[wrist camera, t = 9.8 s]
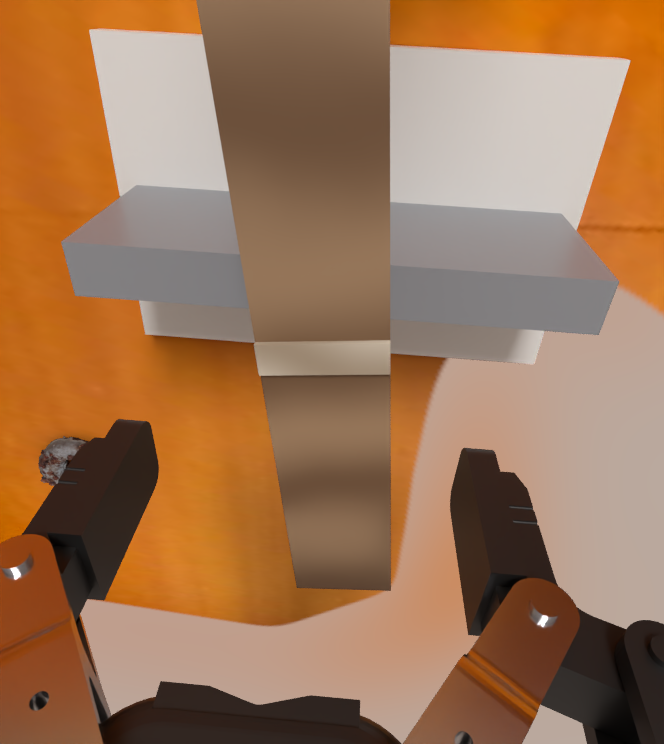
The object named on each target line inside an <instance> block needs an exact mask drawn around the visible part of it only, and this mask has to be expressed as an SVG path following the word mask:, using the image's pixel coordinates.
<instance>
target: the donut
mask: <svg viewBox="0 0 664 744" xmlns="http://www.w3.org/2000/svg"><path fill="white" fill-rule="evenodd" d="M87 443H88V441H85V440H81V439H79V438H75V437H69V438H66V437H63V438H60V439H56V440H54V441H52V442H51V443H50V444H49V445H48V446H47V447H46V449H45V450H42V452H41V456H40V457H39V469H40V473H41V474H42V475H43V477H42V480H41V481H42V482H43V483H46V482H47V483H49V485H54V486H55V484H58V480H59V478H60V477H61V475H62V474H63V472H64V471H65V470H67V466H68V465H69V463H68V460H72V459H73V457H74V456H75V454H76V453H77V451H78V450H79V449H81V448H82V447H83V446H85V445H86V444H87Z"/></svg>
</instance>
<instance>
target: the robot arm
mask: <svg viewBox="0 0 664 744" xmlns="http://www.w3.org/2000/svg"><path fill="white" fill-rule="evenodd" d="M158 471H159V466H158V459H157V454H156V449H155V444H154V439H153V434H152V429H151V425H150V423H149V422H147V421H135V420H123V419H118V420H116V421H115V423H114V424H113V426H112V427H111V429H110V431H109V432H108V434H107V435H106V437H105V438H94V439H92V440H91V441H90V442H88V443H87V444H86V445H85V446H83V447H82V448H81V449H79V450H78V451H77V453H76V454H75V456H74V457H73V459H72V460H71V462H70V463H69V465H68V466H67V470H65V471H64V472H63V474H62V475H61V477H60V478H59V480H58V484H55V486H54V487H53V489H52V490H51V492H50V493H49V495H48V496H47V498H46V499H45V501H44V503H43V504H42V506H41V507H40V509H39V510H38V512H37V513H36V515H35V516H34V518H33V519H32V521H31V522H30V524H29V525H28V527H27V528H26V530H25V531H24V533H23V534H22V535H20V536H16V537H13V538H10V539H8V540H6V541H4V542H2V543H1V544H0V744H401V743H400V742H399V741H398V740H397V739H396V738H395V737H394V736H393V735H392V734H391V733H390V732H388V731H387V730H386V729H384V728H383V727H382V726H380V725H379V724H377V723H375V722H373V721H372V720H370V719H368V718H365V717H363V716H360V700H353V699H342V698H332V697H320V696H306V697H300V698H296V699H290V700H284V701H279V702H274V703H269V704H263V705H255V704H252V703H250V702H247V701H245V700H242V699H240V698H238V697H235V696H233V695H230V694H228V693H225V692H223V691H220V690H218V689H216V688H213V687H211V686H204V685H194V684H184V683H172V682H162V681H161V682H160V685H159V688H158V692H157V695H156V697H153V698H148V699H146V700H143V701H139V702H136V703H134V704H132V705H130V706H128V707H125V708H123V709H122V710H120V711H119V712H117V713H115V714H113V715H112V716H111V713H110V710H109V707H108V704H107V701H106V698H105V695H104V693H103V690H102V686H101V684H100V680H99V677H98V673H97V669H96V666H95V663H94V659H93V656H92V652H91V649H90V645H89V642H88V638H87V635H86V631H85V628H84V625H83V621H82V618H81V615H80V613H81V611H82V609H83V607H84V604H85V602H86V600H87V599H96V600H105V597H106V595H107V593H108V591H109V588H110V586H111V584H112V582H113V580H114V577H115V575H116V573H117V571H118V569H119V566H120V564H121V562H122V560H123V558H124V555H125V553H126V551H127V549H128V546H129V544H130V542H131V540H132V538H133V535H134V533H135V531H136V529H137V527H138V524H139V522H140V520H141V518H142V515H143V513H144V511H145V509H146V507H147V504H148V502H149V500H150V498H151V496H152V493H153V491H154V489H155V486H156V483H157V479H158ZM450 511H451V519H452V525H453V532H454V540H455V546H456V553H457V560H458V567H459V574H460V580H461V588H462V595H463V602H464V608H465V615H466V622H467V629H468V635H476V636H479V638H478V640H477V641H476V642H475V644H474V645H473V647H472V648H471V650H470V651H469V653H468V654H467V655H465V654H464V655H463V656H462V657H461V659H460V660H459V661H458V662H457V664H456V665H455V667H454V668H453V670H452V671H451V673H450V674H449V676H448V677H447V679H446V680H445V682H444V683H443V685H442V686H441V688H440V689H439V691H438V692H437V694H436V695H435V697H434V698H433V699H432V701H431V702H430V704H429V705H428V707H427V709H426V710H425V711H424V713H423V714H422V716H421V718H420V719H419V720H418V722H417V723H416V725H415V726H414V728H413V729H412V731H411V732H410V734H409V735H408V737H407V738H406V740H405V741H404V743H403V744H522V742H523V740H524V739H525V737H526V735H527V733H528V731H529V729H530V727H531V725H532V723H533V721H534V719H535V717H536V714H537V712H538V708H539V706H540V704H541V705H543V706H545V707H547V708H550V709H552V710H554V711H557V712H559V713H561V714H563V715H565V716H568V717H570V718H572V719H574V720H577V721H579V722H581V723H583V728H584V732H585V736H586V741H587V744H664V624H661V623H659V622H655V621H650V620H641V621H637V622H634V623H633V624H631V625H630V626H629V627H628V628H627V629H624V628H621V627H619V626H616V625H614V624H611V623H608V622H606V621H603V620H601V619H598V618H595V617H593V616H591V615H589V614H587V613H585V612H583V611H581V610H580V609H579V608H577V607H576V605H575V603H574V602H573V600H572V599H571V597H570V596H569V595H568V594H567V593H566V592H565V591H564V590H563V589H561V588H560V587H558V585H557V583H556V580H555V577H554V574H553V571H552V568H551V565H550V561H549V558H548V555H547V551H546V548H545V545H544V542H543V538H542V535H541V532H540V529H539V526H538V525H537V519H536V516H535V512H534V511H533V506H532V503H531V500H530V496H529V493H528V490H527V488H526V487H525V486H524V485H523V483H522V482H521V481H520V480H519V478H518V477H517V476H516V475H515V473H511V472H500V469H499V465H498V462H497V458H496V454H495V452H494V451H493V450H484V449H471V448H463V449H462V451H461V454H460V458H459V462H458V466H457V470H456V474H455V478H454V482H453V486H452V490H451V499H450Z"/></svg>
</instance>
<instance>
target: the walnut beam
mask: <svg viewBox="0 0 664 744" xmlns="http://www.w3.org/2000/svg"><path fill="white" fill-rule="evenodd" d="M197 6H198V12H199V18H200V24H201V30H202V35H203V41H204V47H205V53H206V59H207V65H208V70H209V76H210V82H211V88H212V94H213V100H214V106H215V111H216V117H217V123H218V129H219V135H220V141H221V147H222V152H223V158H224V164H225V170H226V176H227V182H228V187H229V193H230V199H231V205H232V211H233V217H234V223H235V228H236V234H237V240H238V246H239V252H240V258H241V264H242V269H243V275H244V281H245V287H246V293H247V299H248V304H249V310H250V316H251V322H252V328H253V334H254V340H255V343H254V350H255V356H256V361H257V367H258V373H259V376H261V381H262V386H263V392H264V398H265V404H266V410H267V416H268V421H269V427H270V433H271V439H272V445H273V451H274V457H275V462H276V468H277V474H278V480H279V486H280V492H281V498H282V503H283V509H284V515H285V521H286V527H287V533H288V539H289V544H290V550H291V556H292V562H293V568H294V574H295V579H296V585H297V588H320V589H353V590H385V591H390V590H391V456H390V0H197Z"/></svg>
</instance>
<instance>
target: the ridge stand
mask: <svg viewBox="0 0 664 744" xmlns="http://www.w3.org/2000/svg"><path fill="white" fill-rule="evenodd" d="M89 32H90V37H91V42H92V48H93V53H94V59H95V64H96V70H97V75H98V80H99V86H100V91H101V97H102V102H103V107H104V113H105V118H106V124H107V129H108V135H109V140H110V145H111V151H112V156H113V162H114V167H115V172H116V178H117V183H118V189H119V194H120V198H119V199H117V200H116V201H115V202H113V203H112V204H111V205H109V206H108V207H107V208H105V209H104V210H103V211H101V212H100V213H99V214H97V215H96V216H95V217H93V218H92V219H91V220H89V221H88V222H87V223H85V224H84V225H83V226H81V227H80V228H79V229H78V230H76V231H75V232H74V233H72V234H71V235H70V236H68V237H67V238H66V239H64V240H63V241H62V242H61V243H62V246H63V250H64V254H65V258H66V262H67V266H68V269H69V273H70V277H71V281H72V285H73V289H74V293H75V296H86V297H100V298H113V299H126V300H139V302H140V308H141V313H142V319H143V324H144V329H145V334H148V335H161V336H174V337H187V338H199V339H212V340H225V341H238V342H251V343H255V340H254V334H253V328H252V322H251V316H250V310H249V304H248V299H247V293H246V287H245V281H244V275H243V269H242V264H241V258H240V252H239V246H238V240H237V234H236V228H235V223H234V217H233V211H232V205H231V199H230V193H229V187H228V182H227V176H226V170H225V164H224V158H223V152H222V147H221V141H220V135H219V129H218V123H217V117H216V111H215V106H214V100H213V94H212V88H211V82H210V76H209V70H208V65H207V59H206V53H205V47H204V41H203V35H202V34H187V33H170V32H152V31H134V30H116V29H92V30H89ZM630 61H631V60H627V59H623V58H614V57H597V56H579V55H561V54H543V53H525V52H508V51H490V50H472V49H454V48H436V47H419V46H401V45H390V353H393V354H406V355H419V356H432V357H445V358H458V359H471V360H484V361H497V362H510V363H523V364H534V363H535V360H536V357H537V354H538V351H539V347H540V344H541V341H542V338H543V335H544V332H545V331H553V332H566V333H579V334H593V335H599V333H600V330H601V327H602V325H603V322H604V320H605V317H606V315H607V312H608V310H609V307H610V304H611V302H612V299H613V297H614V294H615V291H616V289H617V286H618V284H619V281H618V279H617V278H616V277H615V276H614V275H613V274H612V272H611V271H610V270H609V269H608V268H607V266H606V265H605V264H604V263H603V262H602V261H601V259H600V258H599V257H598V256H597V255H596V253H595V252H594V251H593V250H592V249H591V248H590V246H589V245H588V244H587V243H586V242H585V240H584V239H583V238H582V237H581V236H580V235H579V233H578V232H577V228H578V225H579V222H580V218H581V215H582V212H583V209H584V206H585V203H586V199H587V196H588V193H589V190H590V187H591V184H592V181H593V177H594V174H595V171H596V168H597V165H598V162H599V159H600V155H601V152H602V149H603V146H604V143H605V140H606V136H607V133H608V130H609V127H610V124H611V121H612V118H613V114H614V111H615V108H616V105H617V102H618V99H619V96H620V92H621V89H622V86H623V83H624V80H625V77H626V73H627V70H628V67H629V64H630Z"/></svg>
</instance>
